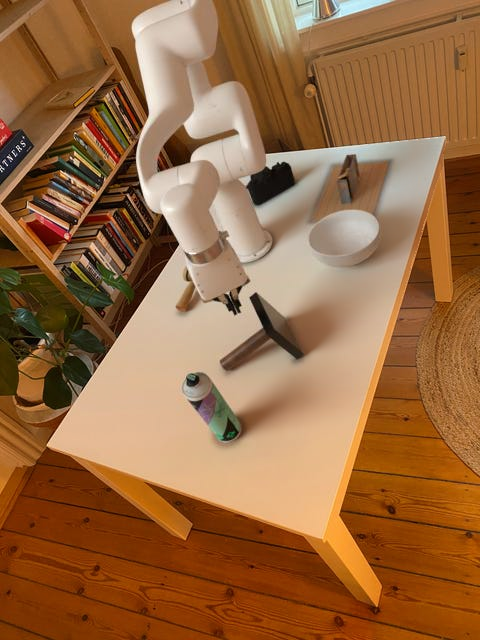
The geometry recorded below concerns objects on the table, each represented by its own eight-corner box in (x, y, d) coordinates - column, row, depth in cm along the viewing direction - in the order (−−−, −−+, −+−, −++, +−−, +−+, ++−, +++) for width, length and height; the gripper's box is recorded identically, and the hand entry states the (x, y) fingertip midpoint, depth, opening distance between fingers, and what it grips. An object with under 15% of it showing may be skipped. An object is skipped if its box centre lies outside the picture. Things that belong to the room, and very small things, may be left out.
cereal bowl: (385, 227, 122) (382, 205, 117) (380, 276, 112) (376, 253, 107) (319, 233, 128) (313, 212, 123) (308, 279, 119) (301, 258, 114)
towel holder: (285, 319, 113) (271, 284, 105) (305, 356, 105) (291, 321, 96) (217, 351, 114) (198, 319, 105) (231, 390, 105) (211, 358, 97)
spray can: (215, 422, 101) (175, 368, 87) (240, 415, 100) (204, 360, 86) (217, 445, 98) (175, 394, 84) (242, 439, 97) (205, 385, 82)
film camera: (284, 171, 152) (276, 146, 146) (298, 184, 146) (291, 158, 139) (242, 195, 152) (232, 171, 145) (255, 209, 145) (245, 184, 138)
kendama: (200, 316, 125) (225, 260, 132) (185, 303, 121) (212, 245, 128) (179, 316, 130) (204, 261, 137) (164, 303, 126) (191, 247, 133)
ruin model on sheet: (372, 220, 125) (366, 189, 118) (311, 221, 133) (303, 192, 126) (389, 161, 138) (385, 130, 131) (333, 165, 146) (327, 136, 139)
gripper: (234, 219, 94) (262, 284, 107) (164, 252, 94) (200, 313, 107) (245, 240, 88) (273, 306, 101) (171, 275, 89) (208, 336, 102)
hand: (236, 309), depth 104 cm, fingers closed
